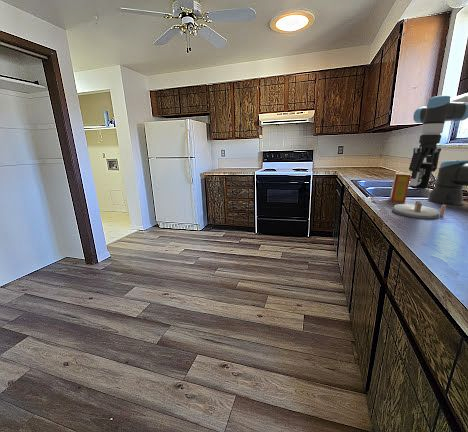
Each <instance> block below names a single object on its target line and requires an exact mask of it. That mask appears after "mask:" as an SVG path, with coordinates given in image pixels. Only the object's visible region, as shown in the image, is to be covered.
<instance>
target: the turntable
mask: <svg viewBox="0 0 468 432" xmlns="http://www.w3.org/2000/svg"><path fill="white" fill-rule="evenodd" d="M393 208H394V210H396V211H398V212H401V213H404V214H409V215H415V216H426V217H431V216H437V215H438V214H439V213H440V211H439V210H438V209H436V208H433V207H429V206H425V205H423V204H422V202H421V201H419V200H415V204H411V203H398V204H395V205H394V207H393Z"/></svg>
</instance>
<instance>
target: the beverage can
mask: <svg viewBox="0 0 468 432" xmlns="http://www.w3.org/2000/svg"><path fill="white" fill-rule="evenodd" d="M431 170H432V163H428V162H425V161H423V163H422V165H421V167H420V169H419V171H418V172H420V173H419V177H418V181H417V186H412V185H410V184H409V186H410V188H411V189H415V190H425V189H427V188H428V186H429V185H428V182H429V183H430V180H429V178H430V179H431V177H430V174H431ZM431 175H432V174H431Z"/></svg>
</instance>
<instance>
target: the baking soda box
mask: <svg viewBox="0 0 468 432" xmlns="http://www.w3.org/2000/svg"><path fill="white" fill-rule="evenodd" d="M411 175H412V174H410V172H397V171H395V172H394V176H393V181H392V187H391V192H390V196H389V200H390V202H391V203H398V204H406V198H407V193H408V189H409V186H410V182H411Z"/></svg>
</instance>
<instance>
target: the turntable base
mask: <svg viewBox="0 0 468 432" xmlns="http://www.w3.org/2000/svg"><path fill="white" fill-rule="evenodd" d="M446 208H447V204H441V208H440V211H439V213H438V215H437V216H431V217H426V216H415V215H409V214H404V213H401V212H398V211H396V210H394V207H393V208H392V213H394V214H396V215H399V216H403V217H405V218H406V217H407V218H410V219H420V220H437V219H439V217H440V218H443V217H444V215H445V211H446Z"/></svg>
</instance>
